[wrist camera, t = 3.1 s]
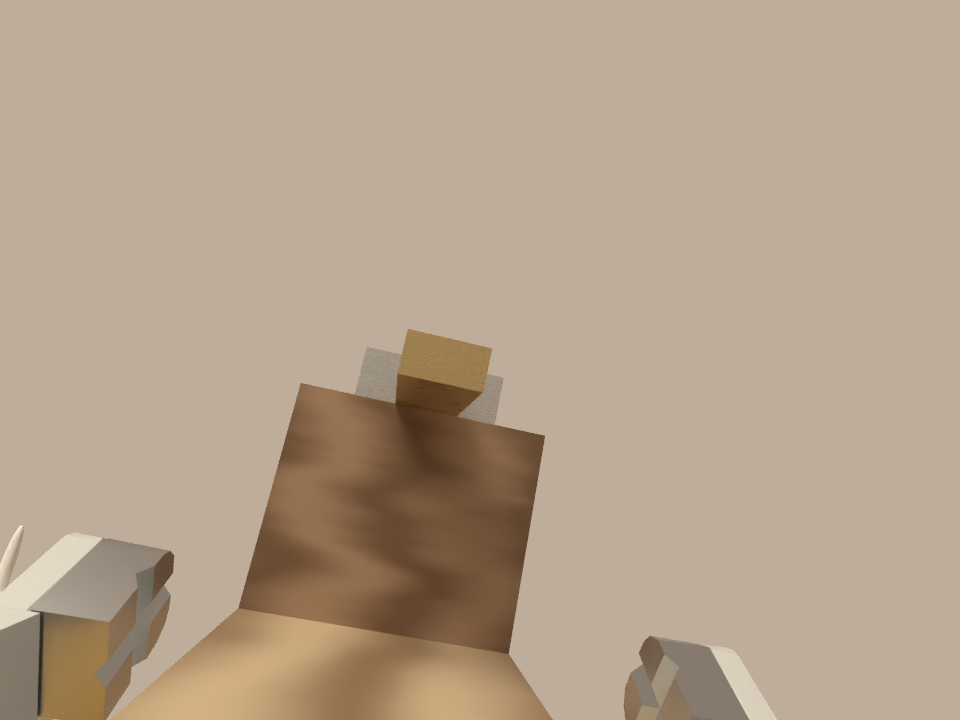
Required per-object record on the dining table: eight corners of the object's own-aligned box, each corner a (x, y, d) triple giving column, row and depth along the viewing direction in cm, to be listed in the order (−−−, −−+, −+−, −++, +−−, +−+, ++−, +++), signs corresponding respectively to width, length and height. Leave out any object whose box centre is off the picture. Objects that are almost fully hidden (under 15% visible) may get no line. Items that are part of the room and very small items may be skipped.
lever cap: (338, 360, 18) (356, 291, 19) (361, 412, 33) (371, 372, 34) (538, 405, 19) (550, 337, 20) (473, 436, 34) (481, 396, 35)
